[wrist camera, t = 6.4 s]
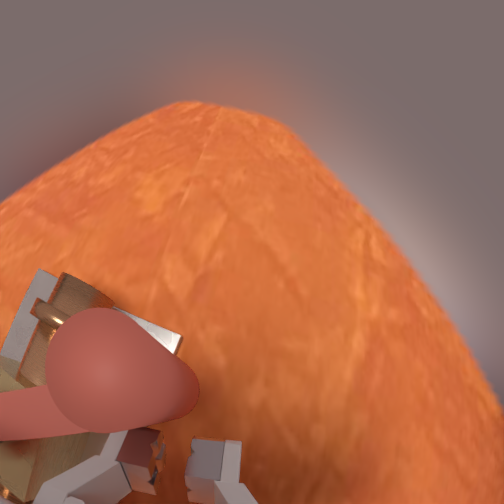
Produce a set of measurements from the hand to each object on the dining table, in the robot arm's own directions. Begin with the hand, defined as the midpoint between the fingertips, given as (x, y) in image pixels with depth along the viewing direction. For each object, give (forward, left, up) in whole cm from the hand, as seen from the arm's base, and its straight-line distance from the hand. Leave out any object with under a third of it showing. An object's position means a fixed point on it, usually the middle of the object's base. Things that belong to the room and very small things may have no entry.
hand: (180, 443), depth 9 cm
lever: (-7, -1, -3) cm, 7 cm away
